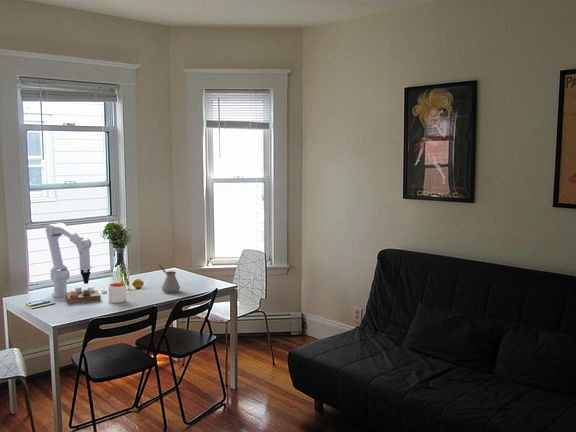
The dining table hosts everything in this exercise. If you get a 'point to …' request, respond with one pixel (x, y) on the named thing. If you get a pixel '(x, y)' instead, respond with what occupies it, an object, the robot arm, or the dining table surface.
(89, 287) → the key ivory
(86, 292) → the key black
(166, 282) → the coffee pot
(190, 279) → the dining table surface
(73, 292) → the key terracotta
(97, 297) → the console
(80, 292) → the key grey
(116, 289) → the cup
